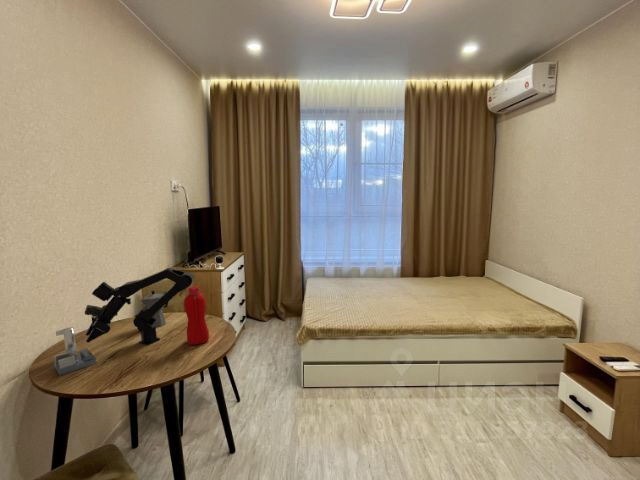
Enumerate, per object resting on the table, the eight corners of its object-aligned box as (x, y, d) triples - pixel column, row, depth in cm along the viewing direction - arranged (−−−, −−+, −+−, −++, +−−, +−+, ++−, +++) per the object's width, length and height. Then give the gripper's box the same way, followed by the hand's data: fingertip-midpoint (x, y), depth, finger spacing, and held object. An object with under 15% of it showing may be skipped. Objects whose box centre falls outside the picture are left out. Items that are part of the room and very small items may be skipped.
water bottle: (188, 348, 148) (182, 292, 145) (186, 339, 158) (182, 286, 155) (210, 344, 152) (206, 289, 149) (208, 335, 162) (203, 283, 159)
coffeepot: (149, 330, 170) (145, 295, 168) (138, 327, 176) (135, 292, 173) (177, 320, 183) (174, 287, 181) (166, 317, 188) (163, 285, 186)
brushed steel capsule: (77, 353, 148) (73, 326, 146) (77, 356, 145) (73, 329, 143) (60, 357, 145) (56, 330, 143) (59, 360, 142) (55, 332, 140)
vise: (89, 356, 145) (88, 344, 144) (96, 363, 138) (95, 351, 137) (54, 367, 136) (52, 355, 136) (59, 375, 129) (57, 363, 129)
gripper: (95, 293, 156) (68, 323, 151) (96, 302, 141) (67, 336, 136) (117, 306, 161) (92, 335, 157) (121, 316, 146) (94, 349, 141)
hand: (86, 338), depth 148 cm, fingers open, 9 cm apart
